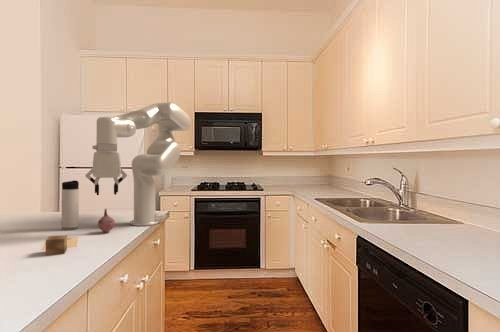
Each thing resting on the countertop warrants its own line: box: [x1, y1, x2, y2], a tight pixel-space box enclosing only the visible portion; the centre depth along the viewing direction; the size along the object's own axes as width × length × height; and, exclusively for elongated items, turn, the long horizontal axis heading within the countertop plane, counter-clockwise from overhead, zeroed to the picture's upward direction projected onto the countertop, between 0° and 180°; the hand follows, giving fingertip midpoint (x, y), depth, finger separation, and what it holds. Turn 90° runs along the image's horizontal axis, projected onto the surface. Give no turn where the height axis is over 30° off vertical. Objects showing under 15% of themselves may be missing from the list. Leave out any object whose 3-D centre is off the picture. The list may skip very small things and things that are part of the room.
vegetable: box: [97, 208, 116, 234], centre depth 133 cm, size 6×6×10 cm
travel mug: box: [61, 180, 80, 231], centre depth 141 cm, size 6×7×20 cm
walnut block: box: [45, 235, 68, 256], centre depth 104 cm, size 5×5×5 cm
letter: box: [41, 236, 79, 251], centre depth 116 cm, size 10×15×1 cm, turn 26°
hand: (106, 194), depth 133 cm, fingers open, 5 cm apart
